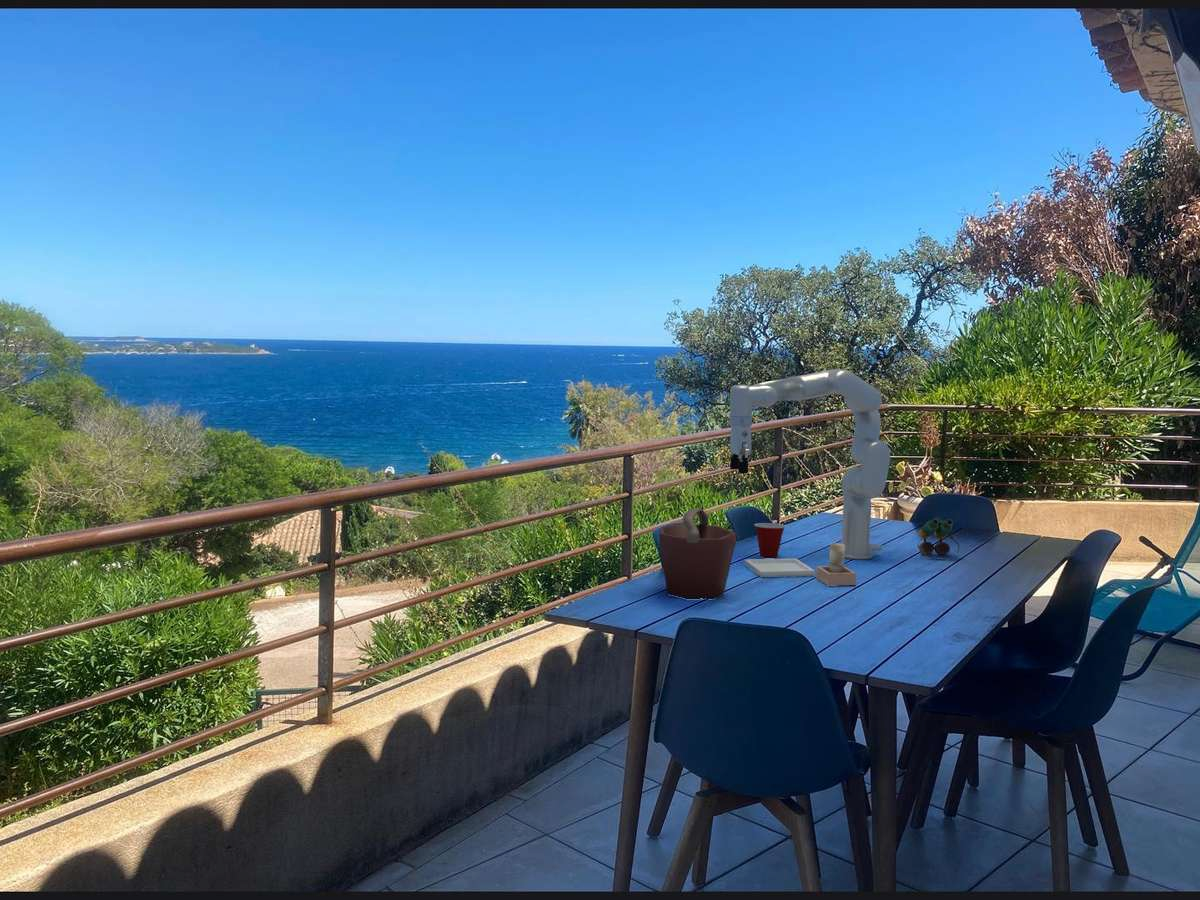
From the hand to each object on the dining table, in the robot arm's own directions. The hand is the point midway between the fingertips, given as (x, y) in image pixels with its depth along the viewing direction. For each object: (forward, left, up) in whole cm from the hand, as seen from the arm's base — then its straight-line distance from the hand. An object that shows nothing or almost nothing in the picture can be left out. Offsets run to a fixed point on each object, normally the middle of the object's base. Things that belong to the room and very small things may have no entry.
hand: (738, 471), depth 281 cm
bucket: (+26, +39, -31) cm, 56 cm away
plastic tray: (-9, +17, -31) cm, 36 cm away
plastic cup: (-12, -1, -31) cm, 33 cm away
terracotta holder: (-22, +32, -31) cm, 50 cm away
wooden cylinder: (-22, +32, -31) cm, 50 cm away
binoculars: (-73, +2, -31) cm, 80 cm away
